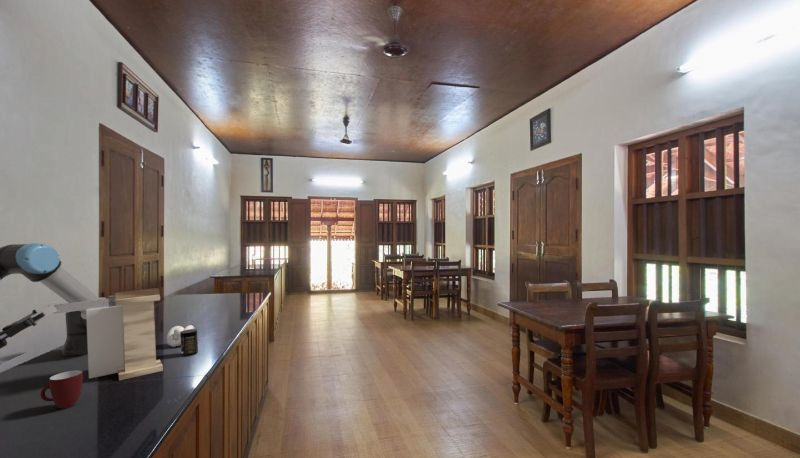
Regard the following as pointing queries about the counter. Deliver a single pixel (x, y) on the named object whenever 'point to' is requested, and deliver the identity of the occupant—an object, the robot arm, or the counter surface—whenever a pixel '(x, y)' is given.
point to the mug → (64, 388)
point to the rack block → (104, 340)
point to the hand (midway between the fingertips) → (56, 305)
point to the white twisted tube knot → (176, 335)
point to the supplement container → (189, 342)
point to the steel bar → (85, 305)
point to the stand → (138, 332)
